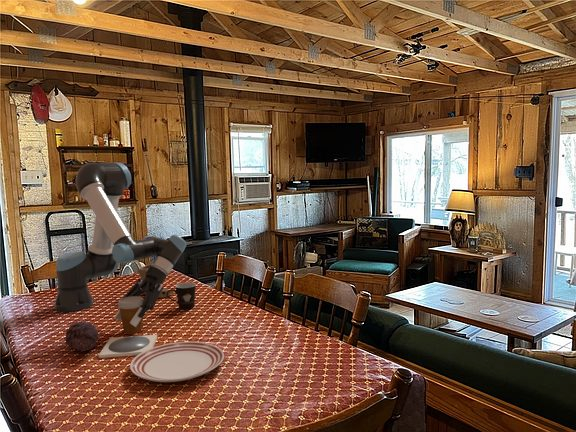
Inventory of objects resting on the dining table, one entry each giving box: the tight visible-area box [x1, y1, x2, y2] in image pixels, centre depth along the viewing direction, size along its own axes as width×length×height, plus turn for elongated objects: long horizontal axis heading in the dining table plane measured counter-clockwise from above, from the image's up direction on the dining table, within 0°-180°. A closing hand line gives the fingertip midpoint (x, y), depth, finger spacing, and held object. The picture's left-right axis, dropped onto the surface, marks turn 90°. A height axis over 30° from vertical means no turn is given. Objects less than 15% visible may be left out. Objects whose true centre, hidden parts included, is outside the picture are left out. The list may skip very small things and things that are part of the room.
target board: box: [98, 334, 158, 359], centre depth 145 cm, size 16×14×1 cm
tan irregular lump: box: [138, 263, 175, 299], centre depth 203 cm, size 15×12×15 cm
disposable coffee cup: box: [117, 295, 145, 335], centre depth 159 cm, size 10×10×12 cm
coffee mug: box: [166, 282, 197, 311], centre depth 185 cm, size 12×9×10 cm
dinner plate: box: [129, 341, 225, 383], centre depth 130 cm, size 28×27×3 cm
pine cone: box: [64, 321, 100, 352], centre depth 142 cm, size 18×10×10 cm, turn 36°
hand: (124, 322), depth 156 cm, fingers closed on disposable coffee cup, 9 cm apart
